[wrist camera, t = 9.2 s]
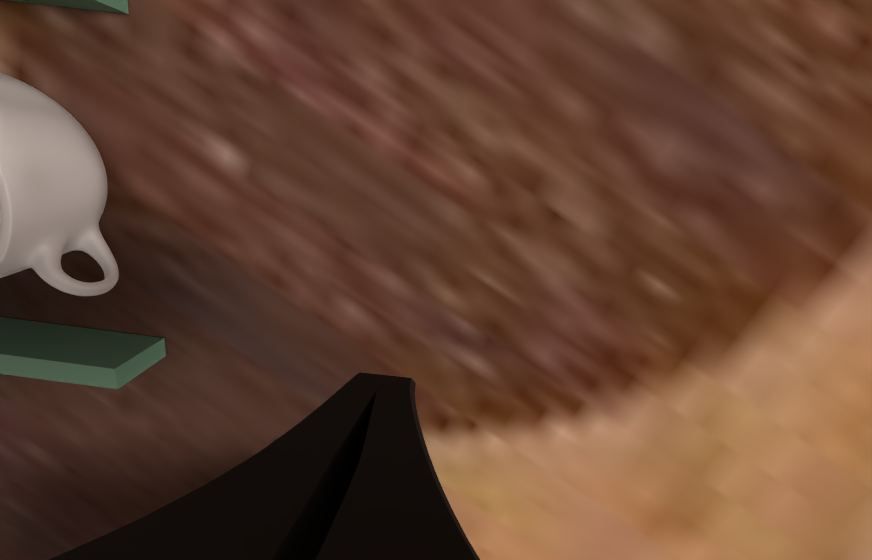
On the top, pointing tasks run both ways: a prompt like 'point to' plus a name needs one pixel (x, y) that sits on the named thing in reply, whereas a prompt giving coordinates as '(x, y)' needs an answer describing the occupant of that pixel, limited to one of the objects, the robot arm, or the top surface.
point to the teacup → (49, 190)
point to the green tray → (68, 345)
